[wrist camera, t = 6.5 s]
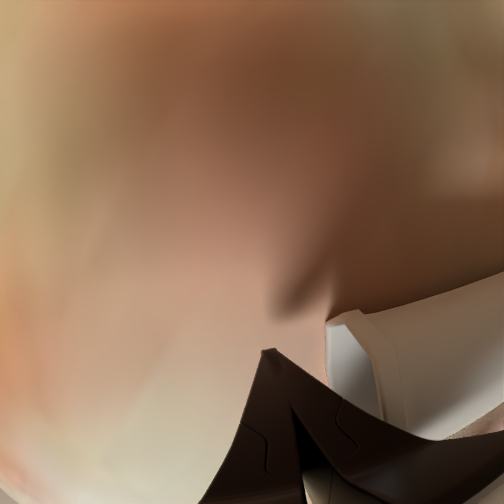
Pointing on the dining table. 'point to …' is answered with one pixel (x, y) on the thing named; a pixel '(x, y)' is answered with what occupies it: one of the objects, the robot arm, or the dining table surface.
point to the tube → (423, 359)
